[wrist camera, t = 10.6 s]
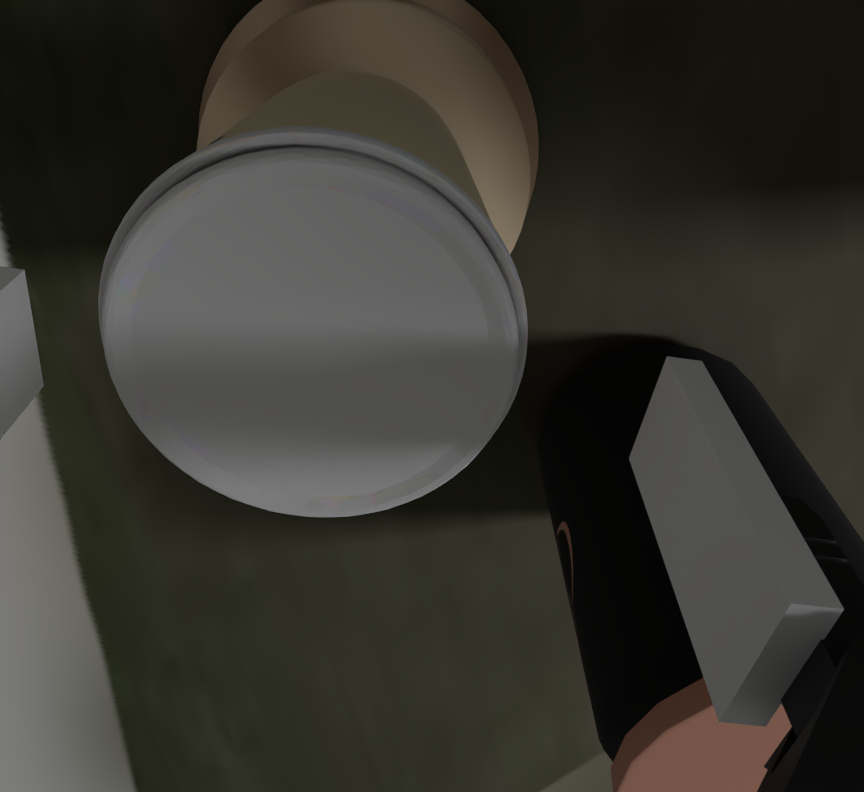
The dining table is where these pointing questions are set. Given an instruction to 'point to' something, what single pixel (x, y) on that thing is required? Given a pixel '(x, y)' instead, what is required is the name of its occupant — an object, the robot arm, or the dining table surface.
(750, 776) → the coffee jar
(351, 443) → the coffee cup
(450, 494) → the dining table surface
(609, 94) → the dining table surface
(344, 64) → the pedestal
